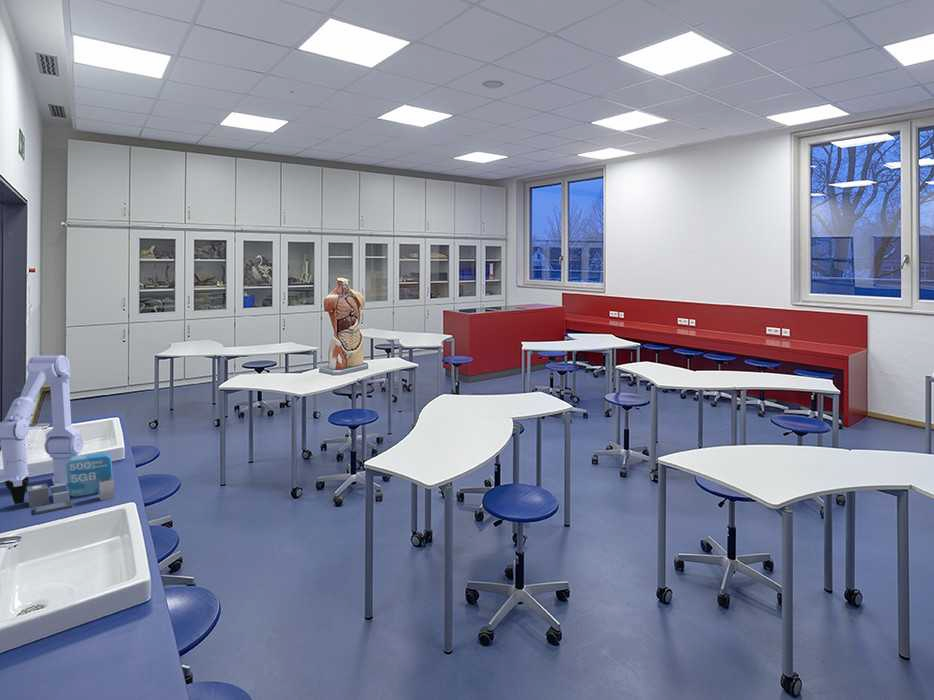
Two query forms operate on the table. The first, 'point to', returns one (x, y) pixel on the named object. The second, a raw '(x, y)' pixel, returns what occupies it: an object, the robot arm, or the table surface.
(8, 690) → the table surface
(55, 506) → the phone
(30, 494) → the cube
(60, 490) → the socket rails
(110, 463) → the data package
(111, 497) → the metal plug
